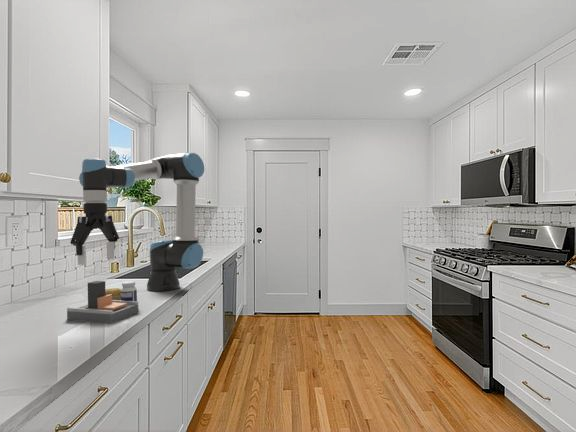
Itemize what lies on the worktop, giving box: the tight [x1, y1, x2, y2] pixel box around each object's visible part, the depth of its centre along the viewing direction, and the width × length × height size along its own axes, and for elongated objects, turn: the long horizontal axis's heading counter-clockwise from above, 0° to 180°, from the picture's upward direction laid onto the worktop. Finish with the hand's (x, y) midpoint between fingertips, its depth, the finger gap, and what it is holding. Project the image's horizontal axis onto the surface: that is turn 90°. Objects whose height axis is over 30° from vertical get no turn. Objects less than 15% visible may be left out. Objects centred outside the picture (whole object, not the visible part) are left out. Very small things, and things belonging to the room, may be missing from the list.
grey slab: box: [66, 300, 139, 324], centre depth 133 cm, size 14×18×4 cm
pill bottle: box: [120, 280, 138, 302], centre depth 145 cm, size 6×6×10 cm
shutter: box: [97, 294, 127, 310], centre depth 132 cm, size 7×7×4 cm
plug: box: [87, 280, 106, 309], centre depth 134 cm, size 4×4×12 cm
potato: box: [105, 287, 122, 300], centre depth 151 cm, size 7×11×6 cm, turn 118°
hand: (97, 261), depth 134 cm, fingers open, 13 cm apart
